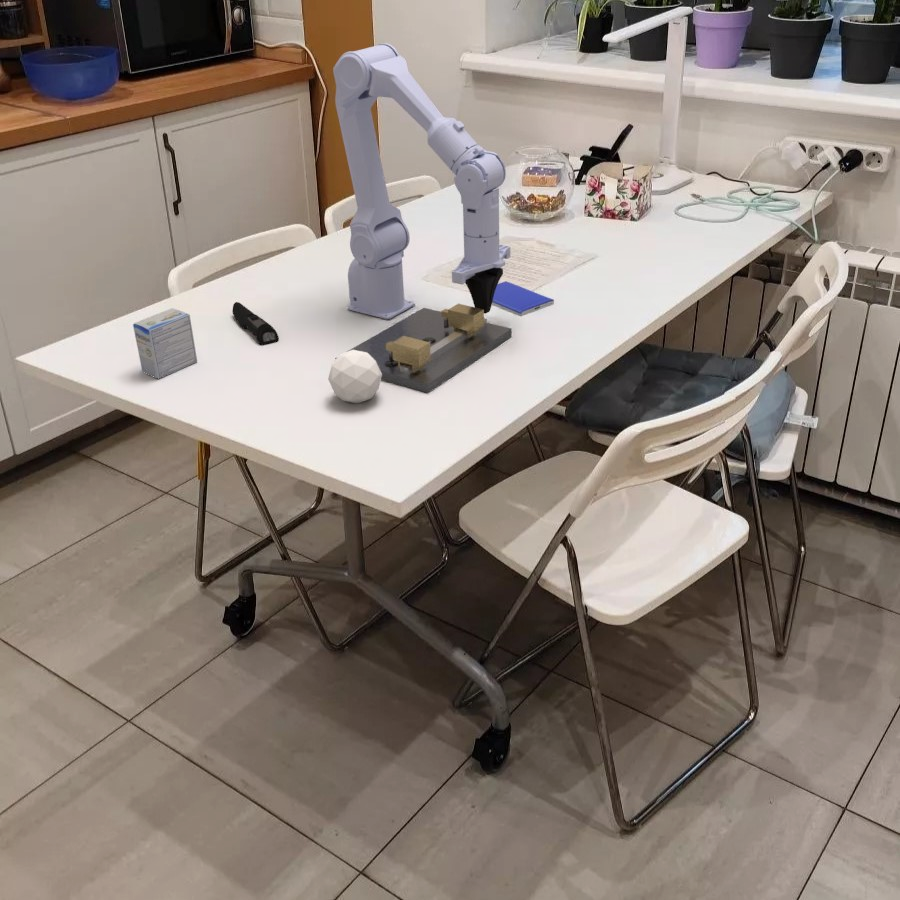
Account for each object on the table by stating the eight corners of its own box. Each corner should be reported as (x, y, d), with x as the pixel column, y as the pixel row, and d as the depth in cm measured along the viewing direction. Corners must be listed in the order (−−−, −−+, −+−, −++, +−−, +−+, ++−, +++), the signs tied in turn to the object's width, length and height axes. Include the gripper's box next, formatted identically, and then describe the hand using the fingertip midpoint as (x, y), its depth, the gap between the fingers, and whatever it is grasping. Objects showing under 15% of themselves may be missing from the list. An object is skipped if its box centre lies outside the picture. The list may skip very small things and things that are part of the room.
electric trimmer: (248, 314, 187) (246, 298, 185) (281, 342, 175) (278, 325, 174) (229, 319, 185) (226, 303, 184) (260, 347, 174) (258, 330, 172)
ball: (344, 416, 157) (312, 373, 155) (384, 384, 159) (352, 342, 158) (357, 412, 150) (324, 368, 148) (399, 379, 152) (366, 335, 151)
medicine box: (181, 356, 171) (172, 306, 167) (198, 362, 169) (190, 313, 164) (141, 373, 166) (131, 322, 162) (158, 380, 164) (149, 329, 159)
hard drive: (473, 292, 189) (520, 311, 180) (507, 280, 193) (554, 298, 185) (474, 300, 189) (520, 319, 181) (507, 288, 194) (554, 306, 186)
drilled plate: (336, 366, 166) (332, 332, 163) (424, 315, 182) (422, 283, 179) (427, 393, 156) (426, 356, 153) (511, 336, 173) (511, 303, 170)
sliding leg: (438, 330, 172) (437, 307, 170) (449, 324, 174) (448, 301, 172) (474, 339, 168) (473, 315, 166) (484, 332, 170) (483, 309, 168)
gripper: (477, 249, 159) (479, 331, 166) (526, 223, 169) (525, 301, 176) (439, 242, 163) (443, 322, 170) (489, 216, 173) (490, 293, 180)
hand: (482, 311), depth 173 cm, fingers closed
